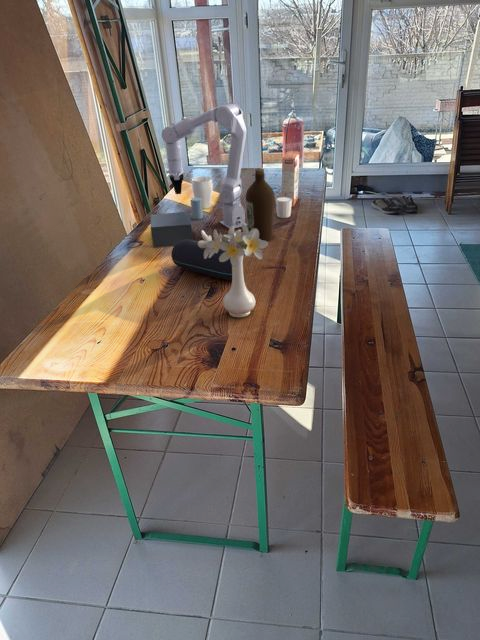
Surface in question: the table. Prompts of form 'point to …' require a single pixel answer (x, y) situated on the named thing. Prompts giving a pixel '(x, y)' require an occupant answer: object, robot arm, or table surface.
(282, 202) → the shot glass
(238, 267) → the flower vase
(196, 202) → the jug
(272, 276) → the table surface
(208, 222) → the table surface
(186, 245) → the portable speaker
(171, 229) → the cabinet
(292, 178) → the cracker box
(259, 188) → the olive oil
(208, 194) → the cup
